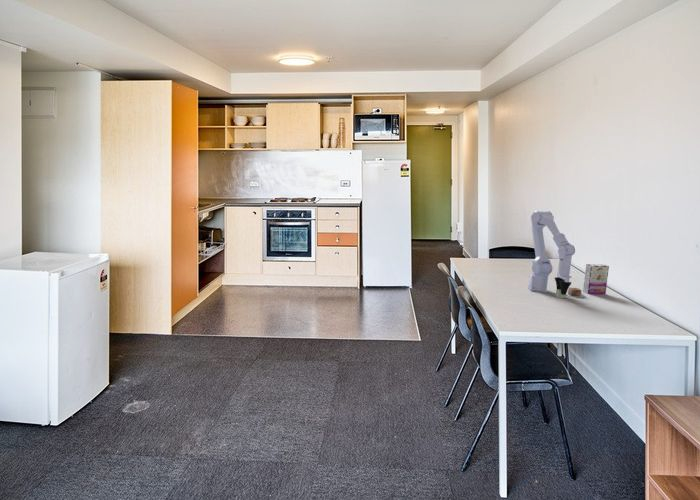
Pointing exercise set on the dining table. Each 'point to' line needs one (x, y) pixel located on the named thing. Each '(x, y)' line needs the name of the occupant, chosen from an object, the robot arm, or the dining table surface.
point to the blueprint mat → (575, 296)
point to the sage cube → (559, 294)
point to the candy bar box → (595, 278)
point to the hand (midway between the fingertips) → (561, 292)
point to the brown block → (574, 292)
